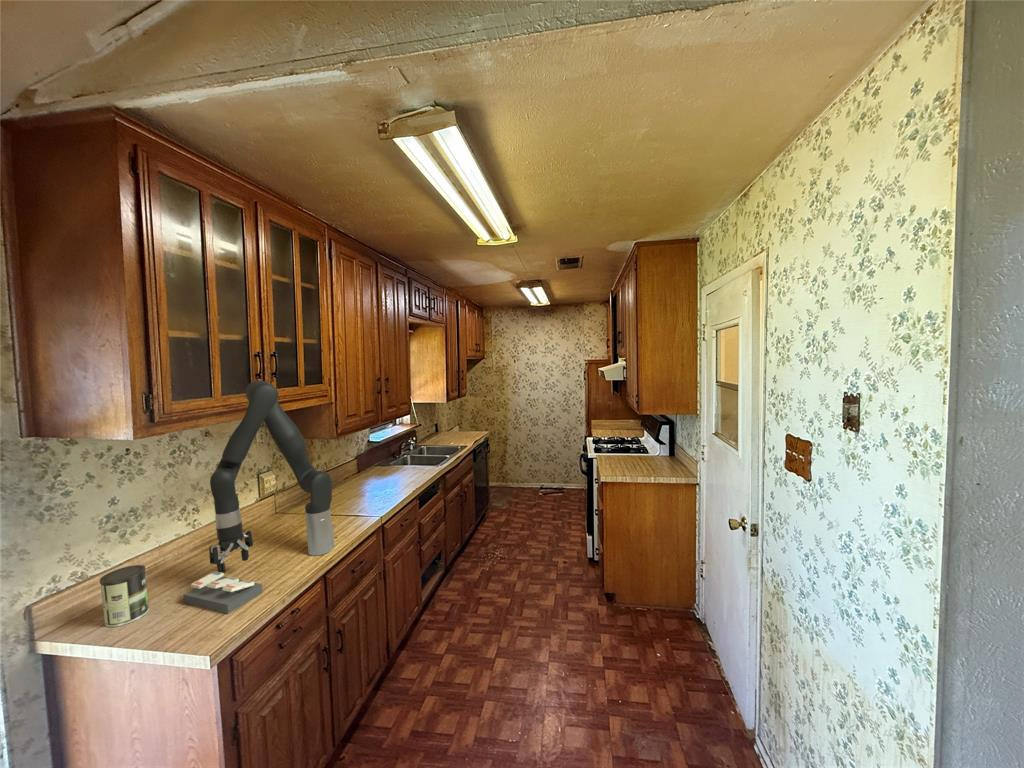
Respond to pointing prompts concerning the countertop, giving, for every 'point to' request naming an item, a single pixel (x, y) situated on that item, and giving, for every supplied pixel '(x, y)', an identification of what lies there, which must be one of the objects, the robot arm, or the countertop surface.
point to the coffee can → (124, 595)
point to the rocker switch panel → (221, 597)
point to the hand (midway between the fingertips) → (234, 566)
